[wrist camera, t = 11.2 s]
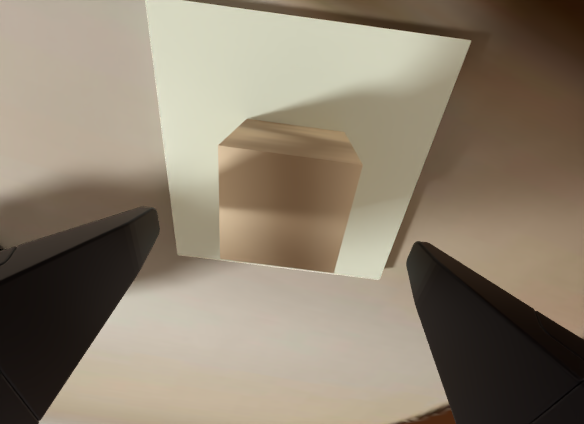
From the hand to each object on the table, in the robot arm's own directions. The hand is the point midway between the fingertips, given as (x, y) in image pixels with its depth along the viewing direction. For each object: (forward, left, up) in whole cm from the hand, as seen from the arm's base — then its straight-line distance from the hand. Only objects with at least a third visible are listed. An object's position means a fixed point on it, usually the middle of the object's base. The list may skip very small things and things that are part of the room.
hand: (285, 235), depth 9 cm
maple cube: (0, 0, -6) cm, 6 cm away
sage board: (0, 0, -7) cm, 7 cm away
